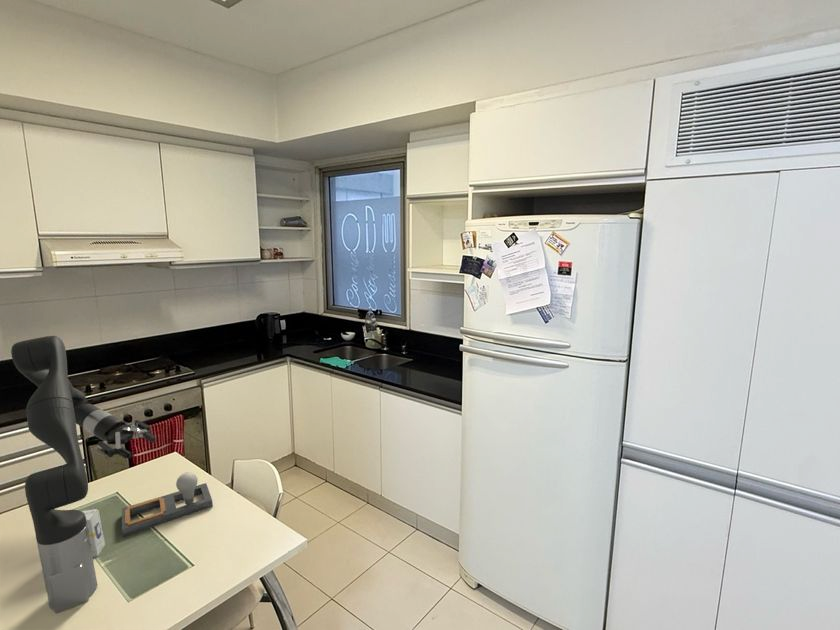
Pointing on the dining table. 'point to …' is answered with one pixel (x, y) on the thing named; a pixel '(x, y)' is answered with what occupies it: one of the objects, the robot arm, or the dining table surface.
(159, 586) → the dining table surface
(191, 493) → the lightbulb
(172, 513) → the rail
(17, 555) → the dining table surface
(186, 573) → the dining table surface
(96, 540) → the ink box
